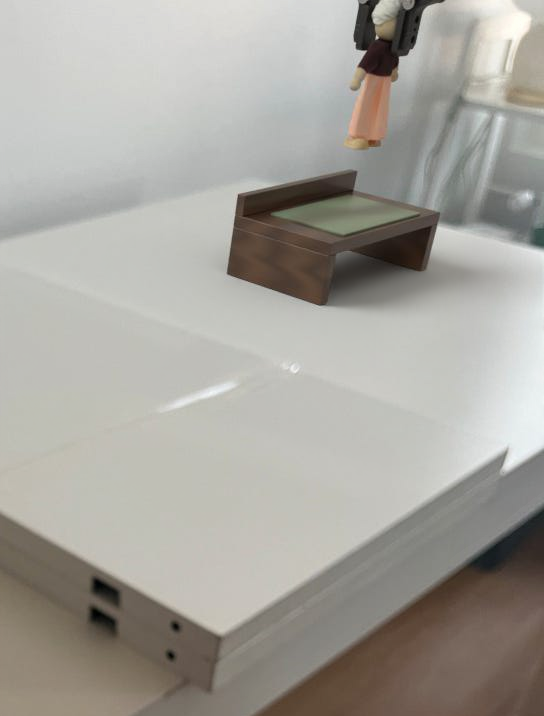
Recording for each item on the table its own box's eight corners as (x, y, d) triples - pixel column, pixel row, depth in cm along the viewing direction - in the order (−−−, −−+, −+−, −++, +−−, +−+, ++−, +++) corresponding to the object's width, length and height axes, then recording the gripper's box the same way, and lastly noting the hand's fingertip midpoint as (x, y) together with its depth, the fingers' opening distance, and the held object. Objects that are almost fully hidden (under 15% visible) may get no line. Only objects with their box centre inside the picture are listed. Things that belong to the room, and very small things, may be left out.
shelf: (426, 269, 113) (446, 192, 109) (320, 305, 102) (336, 221, 97) (335, 242, 120) (350, 169, 115) (226, 273, 109) (237, 193, 104)
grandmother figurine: (369, 155, 99) (402, 1, 92) (331, 148, 101) (361, -4, 93) (395, 142, 104) (428, -5, 97) (359, 136, 106) (389, -9, 98)
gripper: (333, -182, 89) (297, 45, 100) (481, -181, 81) (426, 66, 92) (381, -177, 94) (342, 41, 104) (526, -175, 86) (468, 61, 96)
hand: (381, 51), depth 98 cm, fingers closed on grandmother figurine, 3 cm apart
